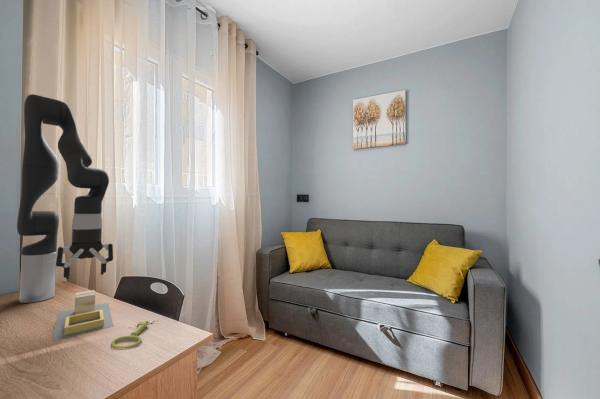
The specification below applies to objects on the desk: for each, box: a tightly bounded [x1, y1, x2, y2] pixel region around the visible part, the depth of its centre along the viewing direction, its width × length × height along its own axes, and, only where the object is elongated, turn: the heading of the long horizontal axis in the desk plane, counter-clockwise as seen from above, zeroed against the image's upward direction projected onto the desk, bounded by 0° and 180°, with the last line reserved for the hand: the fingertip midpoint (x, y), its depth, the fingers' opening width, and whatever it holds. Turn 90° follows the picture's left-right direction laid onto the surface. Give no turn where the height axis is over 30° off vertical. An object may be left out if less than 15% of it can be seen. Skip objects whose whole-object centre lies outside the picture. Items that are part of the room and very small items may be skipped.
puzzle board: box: [51, 302, 114, 342], centre depth 78 cm, size 22×13×3 cm, turn 41°
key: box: [110, 320, 150, 349], centre depth 71 cm, size 7×12×2 cm, turn 21°
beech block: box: [74, 289, 96, 315], centre depth 83 cm, size 5×5×6 cm
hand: (85, 276), depth 83 cm, fingers open, 8 cm apart
